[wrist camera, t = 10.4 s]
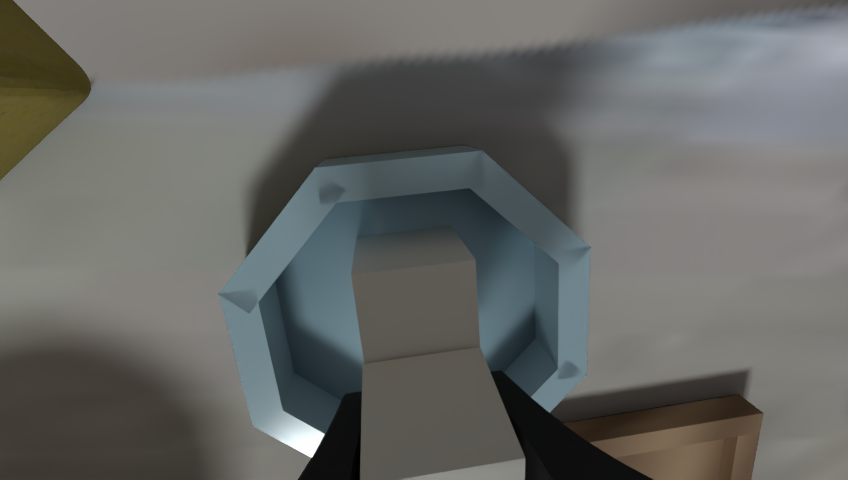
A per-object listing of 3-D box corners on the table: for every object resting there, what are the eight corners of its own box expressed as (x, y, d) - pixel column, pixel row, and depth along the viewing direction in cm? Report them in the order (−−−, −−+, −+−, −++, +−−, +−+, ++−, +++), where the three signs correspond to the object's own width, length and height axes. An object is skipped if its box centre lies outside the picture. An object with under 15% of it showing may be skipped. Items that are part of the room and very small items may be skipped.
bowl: (556, 135, 14) (594, 138, 12) (555, 405, 17) (584, 451, 15) (222, 168, 13) (188, 179, 11) (287, 447, 16) (273, 504, 14)
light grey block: (450, 225, 14) (475, 259, 11) (458, 330, 15) (482, 390, 12) (356, 236, 14) (351, 275, 10) (371, 342, 15) (370, 407, 11)
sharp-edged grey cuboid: (480, 346, 11) (525, 457, 8) (483, 452, 13) (522, 581, 9) (362, 364, 11) (359, 486, 8) (380, 470, 12) (384, 608, 9)
